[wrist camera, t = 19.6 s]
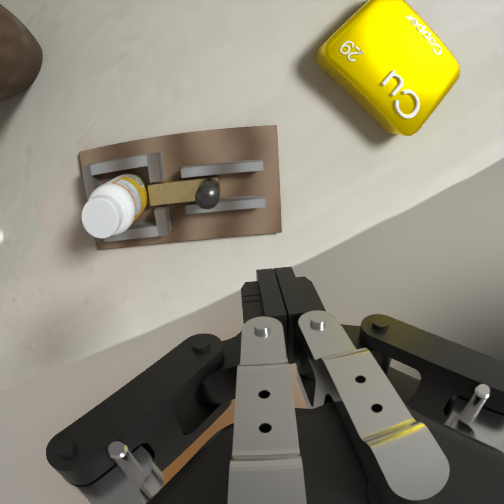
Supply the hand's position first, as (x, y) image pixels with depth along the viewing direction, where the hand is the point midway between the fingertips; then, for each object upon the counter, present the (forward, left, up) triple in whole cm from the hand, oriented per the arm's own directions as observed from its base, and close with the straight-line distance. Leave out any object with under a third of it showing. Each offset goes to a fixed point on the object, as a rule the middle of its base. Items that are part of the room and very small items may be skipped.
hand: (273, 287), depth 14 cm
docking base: (-8, 0, -25) cm, 26 cm away
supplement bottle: (-14, 0, -24) cm, 28 cm away
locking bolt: (-7, 0, -24) cm, 25 cm away
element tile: (+19, +15, -26) cm, 35 cm away
